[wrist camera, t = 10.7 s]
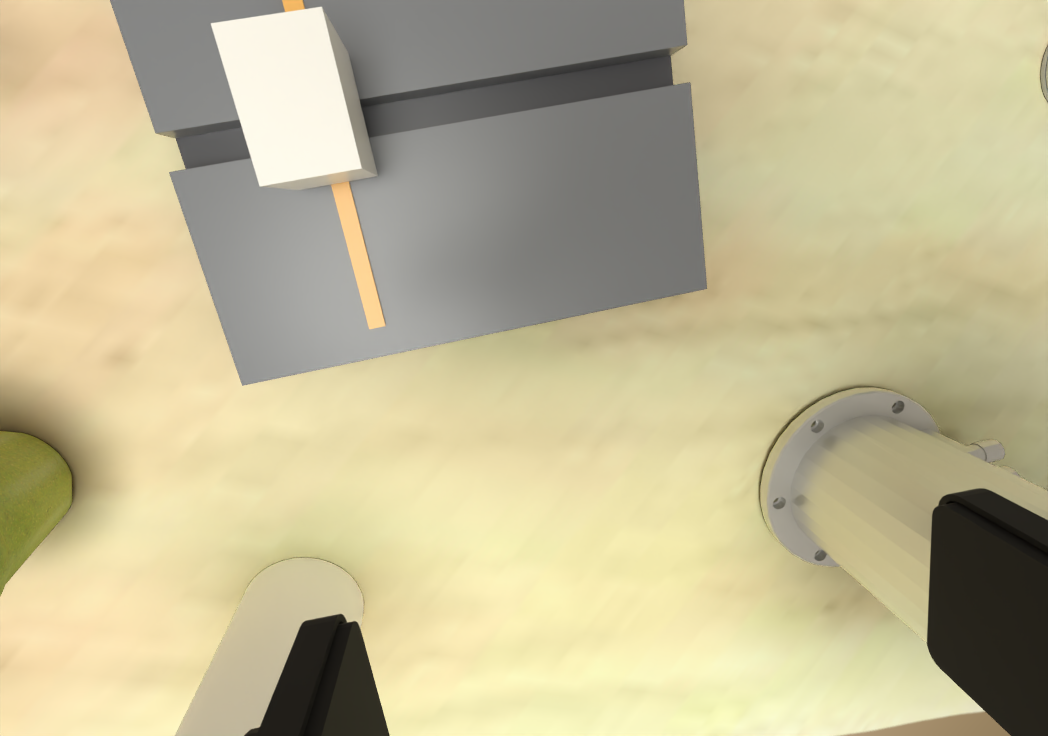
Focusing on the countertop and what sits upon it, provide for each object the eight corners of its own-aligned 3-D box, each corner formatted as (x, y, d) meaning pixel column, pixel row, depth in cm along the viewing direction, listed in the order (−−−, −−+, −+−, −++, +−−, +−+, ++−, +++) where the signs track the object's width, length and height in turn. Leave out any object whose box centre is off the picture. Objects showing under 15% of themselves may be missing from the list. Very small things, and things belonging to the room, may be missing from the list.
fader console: (640, -177, 27) (667, -226, 24) (683, 281, 33) (708, 289, 30) (102, -108, 24) (55, -152, 21) (260, 368, 31) (240, 386, 28)
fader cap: (355, 65, 26) (321, 6, 18) (382, 178, 28) (361, 168, 20) (277, 77, 26) (211, 23, 18) (309, 191, 27) (259, 186, 20)
